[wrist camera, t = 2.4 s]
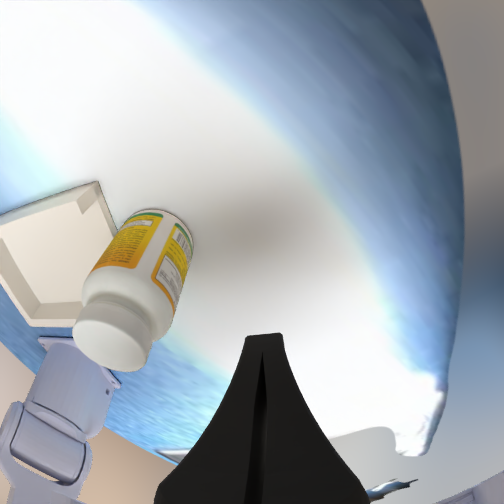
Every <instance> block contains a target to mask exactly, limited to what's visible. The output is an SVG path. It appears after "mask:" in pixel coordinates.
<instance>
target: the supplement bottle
mask: <svg viewBox="0 0 504 504" xmlns="http://www.w3.org/2000/svg"><path fill="white" fill-rule="evenodd" d="M192 254H193V241H192V238H191V235H190V233H189V231H188V229H187V228H186V226H185V225H184V224H183V223H182V222H181V221H180V220H179V219H178V218H176V217H175V216H173V215H172V214H169V213H167V212H164V211H161V210H144V211H140V212H137V213H135V214H133V215H132V216H131V217H129V218H128V219H127V220H126V222H125V223H124V224H123V226H122V227H121V228H120V230H119V231H118V232H117V234H116V235H115V237H114V238H113V240H112V241H111V242H110V244H109V245H108V247H107V248H106V250H105V251H104V253H103V254H102V256H101V257H100V258H99V260H98V261H97V263H96V264H95V266H94V267H93V269H92V270H91V272H90V273H89V275H88V276H87V278H86V280H85V282H84V284H83V287H82V294H81V298H82V304H83V309H82V310H81V311H80V313H79V316H78V318H77V320H76V322H75V324H74V326H73V330H72V335H73V339H74V341H75V343H76V345H77V346H78V348H79V349H80V350H81V351H82V352H83V353H84V354H85V355H86V356H87V357H88V358H90V359H91V360H93V361H94V362H96V363H97V364H99V365H101V366H103V367H106V368H109V369H112V370H115V371H122V372H133V371H137V370H139V369H141V368H142V367H143V366H144V365H145V364H146V361H147V358H148V355H149V352H150V350H151V347H152V343H153V342H155V341H157V340H159V339H160V338H162V337H163V336H164V335H165V334H166V333H167V331H168V330H169V328H170V326H171V324H172V321H173V317H174V314H175V311H176V307H177V304H178V301H179V297H180V294H181V290H182V287H183V284H184V281H185V277H186V274H187V271H188V268H189V264H190V261H191V258H192Z"/></svg>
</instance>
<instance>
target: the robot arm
mask: <svg viewBox="0 0 504 504" xmlns="http://www.w3.org/2000/svg"><path fill="white" fill-rule="evenodd" d="M38 341H39V343H40V344H41V345H42V346H43V347H44V349H45V350H46V351H47V354H46V356H45V358H44V360H43V362H42V364H41V367H40V369H39V371H38V373H37V375H36V377H35V380H34V382H33V384H32V386H31V389H30V391H29V393H28V396H27V398H26V401H25V402H24V403H21V402H20V401H17V402H13V403H12V404H11V405H10V407H9V409H8V411H7V413H6V415H5V417H4V420H3V422H2V425H1V428H0V469H1V471H2V472H3V474H4V475H5V477H6V478H7V480H8V481H9V483H10V485H11V487H10V491H9V495H8V499H7V504H86V503H83V502H81V501H78V500H76V499H77V498H78V495H80V491H81V488H82V486H83V482H84V481H85V480H86V478H87V476H88V474H89V472H90V469H91V465H92V451H91V449H90V445H89V443H88V442H87V441H86V439H90V438H93V437H94V436H96V435H97V434H98V433H99V432H100V430H101V429H102V428H103V426H104V423H105V419H106V416H107V412H108V409H109V406H110V402H111V399H112V396H113V392H114V389H115V388H121V384H120V383H119V382H118V381H117V380H116V379H115V377H114V376H113V375H112V374H111V373H110V372H109V370H108V369H107V368H106V367H103V366H101V365H99V364H97V363H96V362H94V361H93V360H91V359H90V358H88V357H87V356H86V355H85V354H84V353H83V352H82V351H81V350H80V349H79V348H78V346H77V345H76V343H75V341H74V339H73V338H51V337H39V338H38ZM12 456H14V457H16V458H18V459H19V460H21V461H23V462H24V463H26V464H28V465H30V466H32V467H34V468H35V469H37V470H39V471H41V472H43V473H45V474H47V475H49V476H51V477H53V478H56V479H58V480H60V481H51V480H48V479H46V478H44V477H42V476H40V475H38V474H36V473H34V472H32V471H30V470H28V469H27V468H25V467H23V466H21V465H20V464H18V463H17V462H16V461H15V460H14V459H13V457H12ZM154 504H370V500H369V497H368V495H367V493H366V491H365V489H364V488H363V486H362V484H361V482H360V480H359V479H358V478H357V476H356V475H355V474H354V473H353V472H352V471H351V470H350V468H349V467H348V466H347V465H346V464H345V462H344V461H343V460H342V458H341V457H340V456H339V455H338V453H337V452H336V450H335V449H334V448H333V446H332V445H331V443H330V442H329V440H328V439H327V437H326V436H325V434H324V433H323V431H322V430H321V428H320V426H319V425H318V423H317V422H316V420H315V418H314V416H313V415H312V413H311V411H310V409H309V408H308V406H307V404H306V402H305V400H304V398H303V396H302V394H301V392H300V389H299V387H298V385H297V383H296V380H295V378H294V375H293V373H292V370H291V368H290V365H289V362H288V359H287V356H286V352H285V348H284V341H283V335H282V334H281V333H271V334H261V335H250V336H247V337H246V338H245V342H244V346H243V350H242V353H241V356H240V359H239V362H238V365H237V368H236V370H235V373H234V375H233V378H232V380H231V383H230V385H229V387H228V389H227V391H226V393H225V395H224V397H223V400H222V402H221V404H220V406H219V407H218V409H217V411H216V413H215V415H214V416H213V418H212V420H211V421H210V423H209V425H208V426H207V428H206V429H205V431H204V432H203V434H202V435H201V437H200V438H199V440H198V441H197V442H196V444H195V445H194V446H193V448H192V449H191V450H190V451H189V453H188V454H187V455H186V456H185V457H184V459H183V460H182V461H181V462H180V463H179V465H178V466H177V467H176V468H175V469H174V470H173V471H172V472H171V473H170V474H169V475H168V476H167V477H166V478H165V479H164V480H163V481H162V482H161V483H160V484H159V486H158V488H157V491H156V495H155V498H154ZM434 504H504V470H503V471H502V472H500V473H498V474H496V475H495V476H493V477H491V478H489V479H487V480H485V481H483V482H481V483H479V484H477V485H475V486H473V487H471V488H469V489H467V490H465V491H462V492H460V493H458V494H456V495H454V496H452V497H449V498H447V499H444V500H442V501H439V502H436V503H434Z"/></svg>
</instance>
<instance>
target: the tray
mask: <svg viewBox="0 0 504 504" xmlns="http://www.w3.org/2000/svg"><path fill="white" fill-rule="evenodd" d="M116 234H117V229H116V227H115V225H114V222H113V220H112V217H111V215H110V212H109V210H108V207H107V205H106V202H105V200H104V197H103V194H102V192H101V189H100V186H99V183H98V181H96V182H92V183H89V184H86V185H83V186H79V187H76V188H73V189H70V190H67V191H64V192H61V193H58V194H55V195H52V196H49V197H46V198H44V199H41V200H38V201H35V202H33V203H30V204H27V205H25V206H22V207H19V208H17V209H14V210H12V211H9V212H7V213H4V214H2V215H0V283H1V284H2V286H3V288H4V289H5V291H6V292H7V294H8V295H9V297H10V298H11V300H12V301H13V303H14V304H15V306H16V307H17V309H18V310H19V311H20V313H21V314H22V316H23V317H24V318H25V320H26V321H27V322H28V324H29V325H30V326H31V327H73V326H74V324H75V322H76V320H77V318H78V316H79V313H80V311H81V310H82V309H83V304H82V298H81V294H82V287H83V284H84V282H85V280H86V278H87V276H88V275H89V273H90V272H91V270H92V269H93V267H94V266H95V264H96V263H97V261H98V260H99V258H100V257H101V256H102V254H103V253H104V251H105V250H106V248H107V247H108V245H109V244H110V242H111V241H112V240H113V238H114V237H115V235H116Z"/></svg>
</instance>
